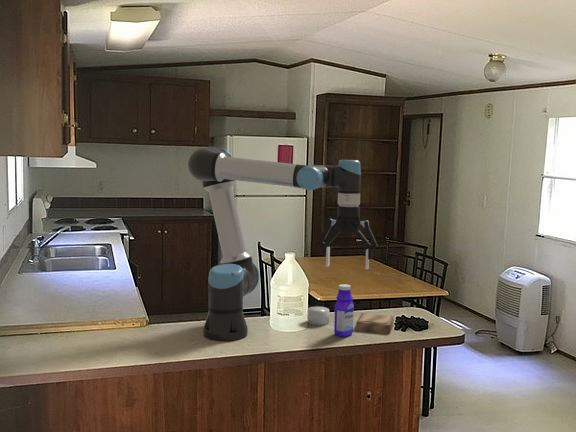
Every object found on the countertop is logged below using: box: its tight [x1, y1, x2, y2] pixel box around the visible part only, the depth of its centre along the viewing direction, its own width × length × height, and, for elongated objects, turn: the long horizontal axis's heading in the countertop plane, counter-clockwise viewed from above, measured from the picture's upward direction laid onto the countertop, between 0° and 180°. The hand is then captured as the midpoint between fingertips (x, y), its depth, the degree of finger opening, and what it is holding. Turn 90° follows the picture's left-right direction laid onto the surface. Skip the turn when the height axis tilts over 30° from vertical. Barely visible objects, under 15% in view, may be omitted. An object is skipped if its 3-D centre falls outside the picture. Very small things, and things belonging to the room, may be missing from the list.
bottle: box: [333, 283, 355, 338], centre depth 208 cm, size 7×6×17 cm
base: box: [355, 312, 395, 334], centre depth 219 cm, size 12×12×3 cm
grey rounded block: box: [307, 306, 330, 326], centre depth 223 cm, size 8×8×5 cm
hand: (347, 267), depth 206 cm, fingers open, 13 cm apart
